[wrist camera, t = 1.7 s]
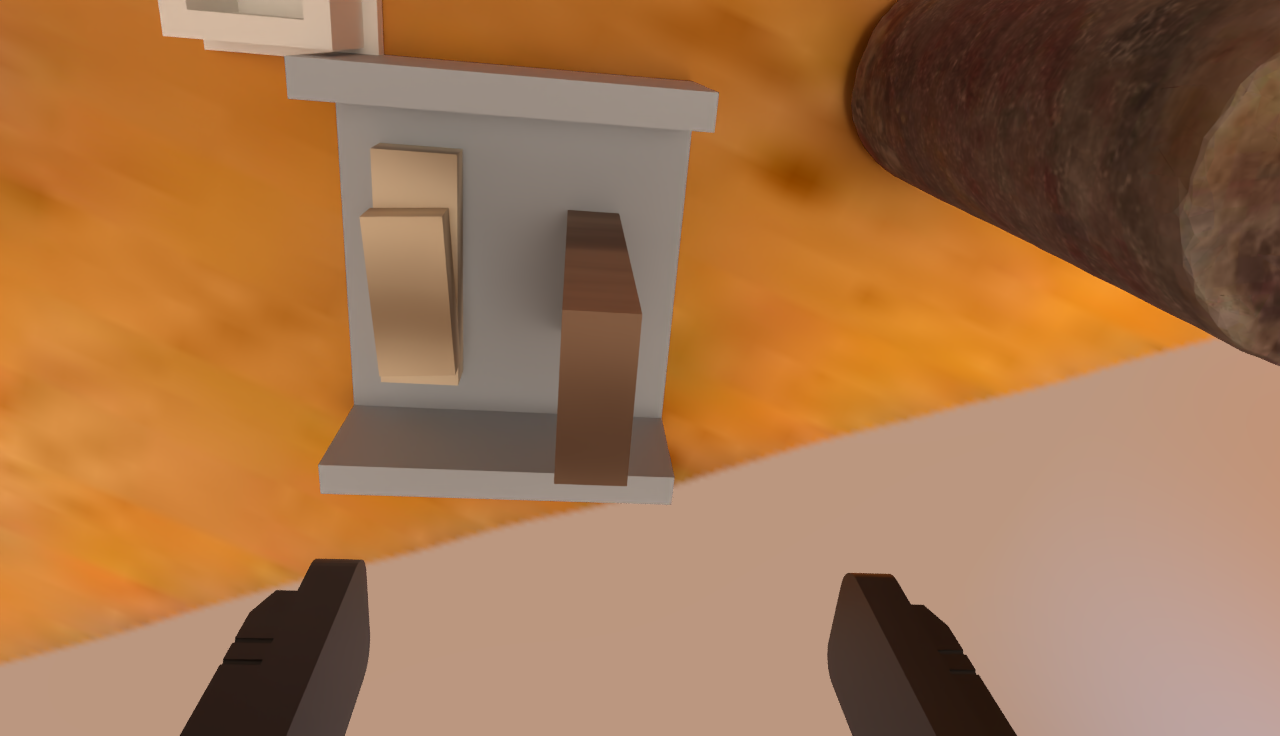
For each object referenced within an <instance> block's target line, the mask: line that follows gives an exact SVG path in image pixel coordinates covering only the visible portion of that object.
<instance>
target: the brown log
mask: <svg viewBox="0 0 1280 736" xmlns="http://www.w3.org/2000/svg"><path fill="white" fill-rule="evenodd" d="M851 108H852V116H853V122H854V124H855V126H856V129H857V132H858V136H859V137H860V139H861V141H862V143H863V145H864V147H865V149H866V150H867V151H868V152H869V153H870V155H871V156H872V157H873V158H874V160H875V161H876V162H877V163H878V164H880V165H881V166H882V167H883V168H884V169H885V170H887V171H888V172H890V173H891V174H893V175H894V176H896V177H898V178H900V179H901V180H903V181H905V182H907V183H909V184H911V185H913V186H915V187H917V188H919V189H921V190H923V191H925V192H926V193H928V194H930V195H932V196H934V197H936V198H938V199H940V200H942V201H944V202H946V203H948V204H951V205H953V206H955V207H957V208H959V209H961V210H963V211H965V212H967V213H969V214H971V215H973V216H975V217H977V218H980V219H982V220H984V221H986V222H988V223H990V224H993V225H995V226H997V227H999V228H1001V229H1003V230H1005V231H1007V232H1008V233H1010V234H1012V235H1015V236H1017V237H1019V238H1021V239H1023V240H1025V241H1027V242H1029V243H1031V244H1033V245H1035V246H1037V247H1038V248H1040V249H1042V250H1044V251H1046V252H1048V253H1050V254H1052V255H1054V256H1057V257H1059V258H1061V259H1063V260H1065V261H1067V262H1069V263H1071V264H1073V265H1075V266H1076V267H1078V268H1080V269H1082V270H1084V271H1086V272H1088V273H1090V274H1091V275H1093V276H1095V277H1097V278H1099V279H1102V280H1104V281H1106V282H1108V283H1110V284H1112V285H1114V286H1116V287H1118V288H1120V289H1122V290H1124V291H1126V292H1128V293H1130V294H1132V295H1134V296H1136V297H1138V298H1140V299H1142V300H1144V301H1146V302H1148V303H1150V304H1151V305H1153V306H1155V307H1157V308H1159V309H1161V310H1163V311H1165V312H1167V313H1169V314H1171V315H1173V316H1175V317H1177V318H1179V319H1181V320H1184V321H1186V322H1188V323H1190V324H1192V325H1194V326H1196V327H1198V328H1200V329H1202V330H1203V331H1205V332H1207V333H1209V334H1211V335H1213V336H1214V337H1216V338H1218V339H1220V340H1222V341H1224V342H1226V343H1228V344H1230V345H1231V346H1233V347H1235V348H1237V349H1239V350H1240V351H1243V352H1245V353H1248V354H1250V355H1254V356H1256V357H1259V358H1261V359H1264V360H1266V361H1268V362H1270V363H1273V364H1275V365H1278V366H1280V0H899V1H898V2H896V3H895V4H894V5H893V6H892V8H891V9H890V10H889V12H887V13H886V14H885V15H884V16H883V17H882V18H881V20H880V21H879V23H878V24H877V26H876V27H875V29H874V31H873V32H872V34H871V37H870V39H869V41H868V44H867V47H866V49H865V51H864V53H863V55H862V58H861V60H860V63H859V66H858V68H857V73H856V78H855V84H854V89H853V92H852V103H851Z"/></svg>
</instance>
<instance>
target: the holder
mask: <svg viewBox="0 0 1280 736" xmlns="http://www.w3.org/2000/svg"><path fill="white" fill-rule="evenodd" d="M158 4H159V11H160V19H161V26H162V33H163V36H170V37H181V38H193V39H203V40H204V49H206V50H217V51H229V52H241V53H253V54H265V55H276V56H288V55H300V54H312V53H325V52H346V53H358V54H369V55H384V44H383V18H382V0H158Z"/></svg>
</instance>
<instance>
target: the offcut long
mask: <svg viewBox="0 0 1280 736" xmlns="http://www.w3.org/2000/svg"><path fill="white" fill-rule="evenodd" d="M370 157H371V178H372V200H373V208H449V220H450V233H451V245H452V258H453V270H454V283H455V295H456V307H457V320H458V332H459V345H460V357H461V361H460V364H459V366H458V369H457V372H456V375H448V376H385V377H381V382H390V383H412V384H433V385H455V386H458V385H459V382H460V379H461V376H462V373H463V149H456V148H443V147H429V146H416V145H403V144H389V143H379V144H377V145H375V146H373V147H371V148H370Z"/></svg>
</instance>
